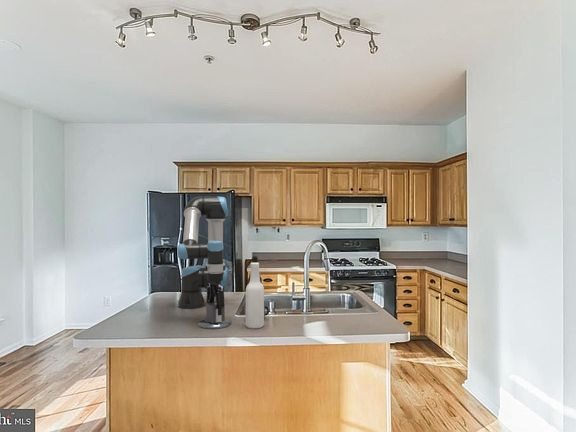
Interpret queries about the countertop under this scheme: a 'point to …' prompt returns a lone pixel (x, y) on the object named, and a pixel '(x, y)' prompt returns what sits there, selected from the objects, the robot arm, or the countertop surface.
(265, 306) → the mug
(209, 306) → the knob
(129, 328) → the countertop surface
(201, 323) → the hub
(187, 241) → the robot arm
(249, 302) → the alcohol
